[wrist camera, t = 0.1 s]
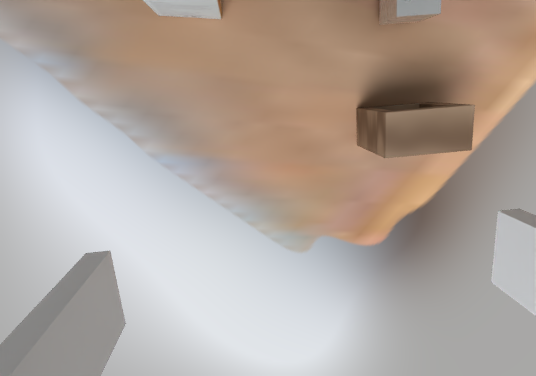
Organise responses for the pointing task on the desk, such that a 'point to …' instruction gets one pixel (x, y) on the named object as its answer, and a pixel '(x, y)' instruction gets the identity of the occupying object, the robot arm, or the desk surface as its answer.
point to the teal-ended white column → (408, 10)
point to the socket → (415, 129)
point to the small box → (187, 8)
